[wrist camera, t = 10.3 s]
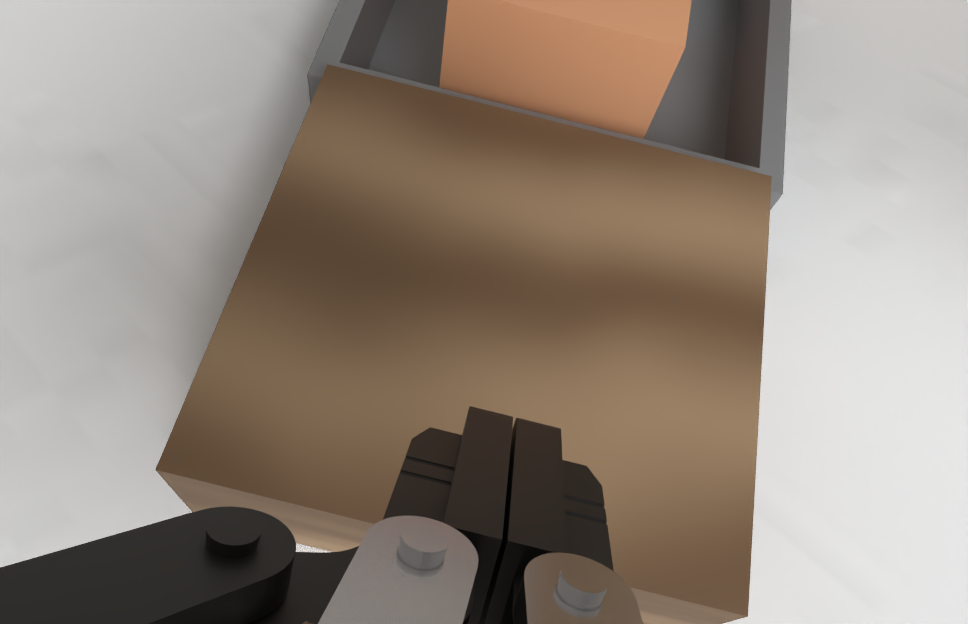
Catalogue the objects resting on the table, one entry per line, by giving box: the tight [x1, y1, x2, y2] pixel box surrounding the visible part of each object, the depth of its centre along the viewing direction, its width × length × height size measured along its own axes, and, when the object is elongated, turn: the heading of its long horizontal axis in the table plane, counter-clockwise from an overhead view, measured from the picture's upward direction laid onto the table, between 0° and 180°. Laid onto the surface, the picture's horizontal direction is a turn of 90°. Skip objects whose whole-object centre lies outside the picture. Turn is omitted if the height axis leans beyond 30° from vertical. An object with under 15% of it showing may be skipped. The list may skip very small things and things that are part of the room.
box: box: [307, 0, 791, 210], centre depth 31 cm, size 15×16×4 cm
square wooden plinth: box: [156, 64, 772, 624], centre depth 24 cm, size 13×14×5 cm
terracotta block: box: [439, 0, 692, 139], centre depth 28 cm, size 7×7×9 cm
